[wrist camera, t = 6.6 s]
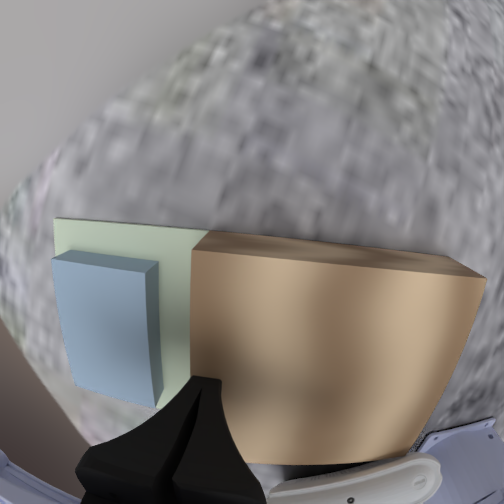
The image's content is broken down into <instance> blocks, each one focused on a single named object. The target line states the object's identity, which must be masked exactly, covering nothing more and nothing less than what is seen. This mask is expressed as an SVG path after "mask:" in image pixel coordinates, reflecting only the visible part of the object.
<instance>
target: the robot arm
mask: <svg viewBox="0 0 504 504" xmlns="http://www.w3.org/2000/svg"><path fill="white" fill-rule="evenodd" d="M221 392H222V381H221V380H220V379H216V378H208V377H201V376H195V375H193V376H191V377H190V379H189V380H188V381H187V383H186V384H185V385H184V386H183V388H182V389H181V390H180V391H179V392H178V393H177V394H176V395H175V396H174V397H173V398H172V399H171V400H170V401H169V402H168V403H167V404H166V405H165V406H164V407H163V408H162V409H161V410H160V411H158V412H157V413H156V414H155V415H154V416H152V417H151V418H150V419H148V420H147V421H145V422H144V423H143V424H141V425H139V426H138V427H136V428H134V429H133V430H131V431H129V432H127V433H125V434H123V435H121V436H119V437H117V438H115V439H112V440H110V441H108V442H104V443H101V444H98V445H95V446H92V447H90V448H89V449H88V450H87V451H86V452H85V454H84V455H83V457H82V458H81V460H80V462H79V463H78V465H77V467H76V469H75V473H76V475H77V477H78V479H79V481H80V482H81V484H82V485H83V487H84V488H85V490H86V492H85V495H84V497H83V499H82V500H81V499H78V498H76V497H74V496H72V495H69V494H67V493H65V492H63V491H61V490H59V489H57V488H55V487H53V486H51V485H49V484H47V483H46V482H43V481H42V480H40V479H38V478H36V477H34V476H33V475H31V474H29V473H28V472H26V471H24V470H23V469H21V468H20V467H18V466H16V465H15V464H13V463H12V462H10V461H9V460H8V458H7V456H6V455H5V454H4V453H3V451H1V449H0V504H267V502H266V498H265V495H264V492H263V489H262V487H261V484H260V482H259V481H258V480H257V478H256V477H255V476H254V474H253V473H252V472H251V470H250V469H249V467H248V466H247V464H246V463H245V461H244V459H243V458H242V456H241V454H240V452H239V451H238V449H237V447H236V445H235V442H234V440H233V438H232V435H231V433H230V430H229V427H228V424H227V421H226V418H225V414H224V410H223V405H222V398H221ZM495 421H496V419H495V418H490V419H487V420H483V421H480V422H476V423H473V424H469V425H466V426H462V427H458V428H454V429H449V430H445V431H440V432H435V433H431V434H429V435H428V436H427V437H426V439H425V440H424V442H423V443H422V445H421V446H420V448H419V449H418V451H417V452H422V453H427V454H430V455H432V456H434V457H435V458H436V459H437V460H438V461H439V462H440V464H441V466H440V472H441V474H442V482H441V485H440V487H439V488H438V490H437V491H436V492H435V494H434V495H433V496H432V497H430V498H429V499H428V500H426V501H425V502H423V504H504V443H503V441H502V440H501V438H500V437H499V435H498V434H497V432H496V431H495V430H494V428H493V427H492V426H493V424H494V423H495Z"/></svg>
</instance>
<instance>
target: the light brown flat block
mask: <svg viewBox="0 0 504 504" xmlns="http://www.w3.org/2000/svg"><path fill="white" fill-rule="evenodd" d="M486 281H487V278H485V277H484V276H482V275H480V274H478V273H477V272H475V271H473V270H471V269H470V268H468V267H466V266H464V265H463V264H461V263H459V262H457V261H455V260H453V259H452V258H450V257H446V256H438V255H430V254H422V253H414V252H406V251H398V250H390V249H381V248H373V247H364V246H356V245H347V244H338V243H329V242H320V241H311V240H301V239H292V238H282V237H272V236H263V235H253V234H242V233H232V232H222V231H211V230H210V231H209V232H208V233H207V234H206V235H205V236H204V237H203V238H202V239H201V240H200V241H199V242H198V243H197V244H196V245H195V246H194V248H193V249H192V250H191V277H190V377H191V376H193V375H195V376H201V377H208V378H216V379H220V380H221V381H222V392H221V398H222V405H223V410H224V414H225V418H226V421H227V424H228V427H229V430H230V433H231V435H232V438H233V440H234V442H235V445H236V447H237V449H238V451H239V452H240V454H241V456H242V458H243V459H244V461H245V462H246V463H258V464H277V465H324V464H343V463H355V462H366V461H374V460H382V459H389V458H396V457H402V456H406V454H407V453H408V451H409V450H410V448H411V447H412V445H413V444H414V442H415V441H416V439H417V438H418V436H419V434H420V433H421V431H422V429H423V428H424V426H425V424H426V423H427V421H428V419H429V418H430V416H431V414H432V412H433V411H434V409H435V407H436V405H437V403H438V401H439V400H440V398H441V396H442V394H443V392H444V390H445V388H446V386H447V384H448V382H449V380H450V378H451V376H452V374H453V371H454V369H455V367H456V365H457V363H458V360H459V358H460V356H461V353H462V351H463V349H464V346H465V344H466V341H467V339H468V336H469V333H470V331H471V328H472V325H473V322H474V320H475V317H476V314H477V311H478V308H479V305H480V302H481V298H482V295H483V292H484V288H485V285H486Z"/></svg>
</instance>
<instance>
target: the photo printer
mask: <svg viewBox="0 0 504 504" xmlns="http://www.w3.org/2000/svg"><path fill="white" fill-rule="evenodd" d="M440 466H441V464H440V462H439V461H438V460H437V459H436V458H435V457H434V456H432V455H430V454H427V453H422V452H408V453H407V454H406V456H402V457H396V458H389V459H382V460H378V461H375V462H372V463H368V464H365V465H361V466H358V467H354V468H350V469H346V470H342V471H337V472H333V473H328V474H323V475H318V476H312V477H306V478H298V479H293V480H289V481H285V482H282V483H280V484H278V485H277V486H275V487H274V488H272V489H271V490H270V492H269V497H268V498H267V499H266V502H267V504H421V503H423V502H425V501H426V500H428V499H429V498H430V497H432V496H433V495H434V494H435V492H436V491H437V490H438V488H439V487H440V485H441V482H442V474H441V472H440Z"/></svg>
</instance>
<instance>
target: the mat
mask: <svg viewBox="0 0 504 504" xmlns="http://www.w3.org/2000/svg"><path fill="white" fill-rule="evenodd" d="M53 221H54V241H55V255H56V256H58V255H60V254H62V253H64V252H66V251H69V250H77V251H84V252H91V253H99V254H106V255H114V256H121V257H129V258H137V259H145V260H153V261H159V322H160V344H161V360H162V374H163V385H164V390H163V392H162V394H161V397H160V399H159V401H158V403H157V406H156V408H158V409H162V408H163V407H164V406H165V405H166V404H167V403H168V402H169V401H170V400H171V399H172V398H173V397H174V396H175V395H176V394H177V393H178V392H179V391H180V390H181V389H182V388H183V386H184V385H185V384H186V383H187V381H188V380H189V379H190V277H191V250H192V249H193V248H194V246H195V245H196V244H197V243H198V242H199V241H200V240H201V239H202V238H203V237H204V236H205V235H206V234H207V233H208V232H209V231H210V230H200V229H189V228H178V227H167V226H155V225H143V224H131V223H118V222H105V221H92V220H79V219H65V218H54V219H53Z"/></svg>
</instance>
